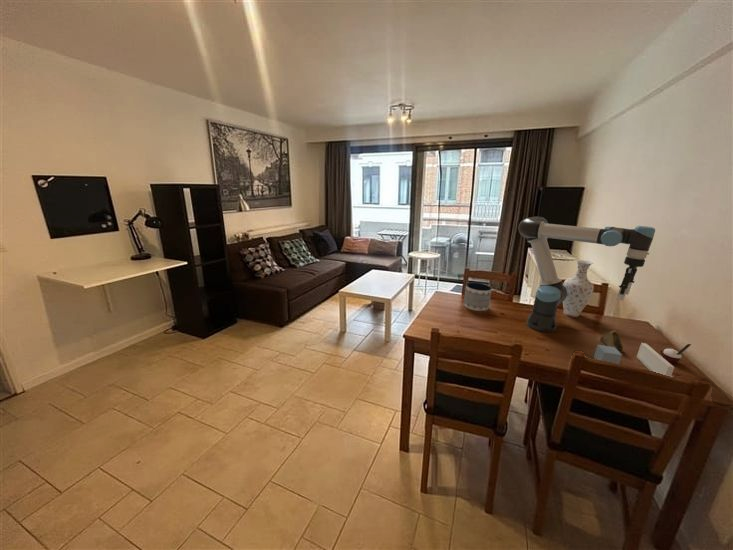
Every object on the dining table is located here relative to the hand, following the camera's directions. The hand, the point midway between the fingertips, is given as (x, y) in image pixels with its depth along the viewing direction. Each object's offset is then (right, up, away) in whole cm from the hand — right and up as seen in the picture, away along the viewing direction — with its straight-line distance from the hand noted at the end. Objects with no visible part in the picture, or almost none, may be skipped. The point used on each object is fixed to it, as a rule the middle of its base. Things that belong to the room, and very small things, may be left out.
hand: (622, 296), depth 157 cm
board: (-2, -32, -20) cm, 38 cm away
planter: (-60, -10, +45) cm, 76 cm away
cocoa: (+12, -30, -13) cm, 35 cm away
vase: (-1, -14, +37) cm, 40 cm away
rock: (-6, -26, 0) cm, 27 cm away
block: (-21, -30, -15) cm, 40 cm away
